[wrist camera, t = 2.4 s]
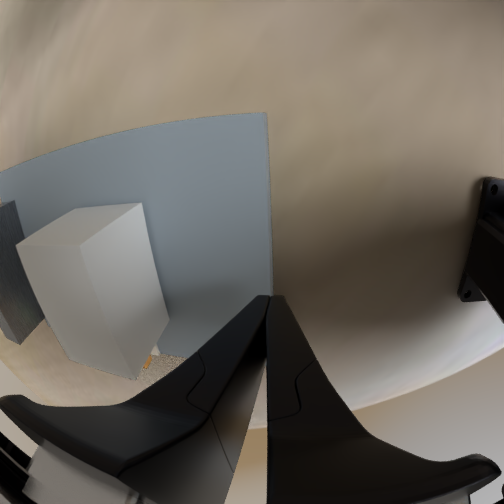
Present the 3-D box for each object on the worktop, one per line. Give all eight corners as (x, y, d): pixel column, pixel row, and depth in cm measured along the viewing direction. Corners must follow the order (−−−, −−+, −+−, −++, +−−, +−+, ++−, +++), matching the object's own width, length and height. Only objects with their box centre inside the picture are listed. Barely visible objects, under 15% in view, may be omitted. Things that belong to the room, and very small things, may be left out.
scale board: (266, 113, 10) (261, 112, 8) (274, 350, 15) (271, 371, 14) (8, 169, 12) (-8, 176, 11) (56, 317, 18) (46, 328, 16)
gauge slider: (141, 202, 11) (79, 245, 7) (181, 358, 15) (156, 415, 11) (75, 208, 11) (15, 245, 8) (123, 347, 15) (93, 395, 12)
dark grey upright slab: (14, 199, 12) (-33, 226, 8) (53, 309, 15) (20, 344, 12) (1, 203, 12) (-42, 228, 9) (38, 305, 16) (6, 337, 12)
